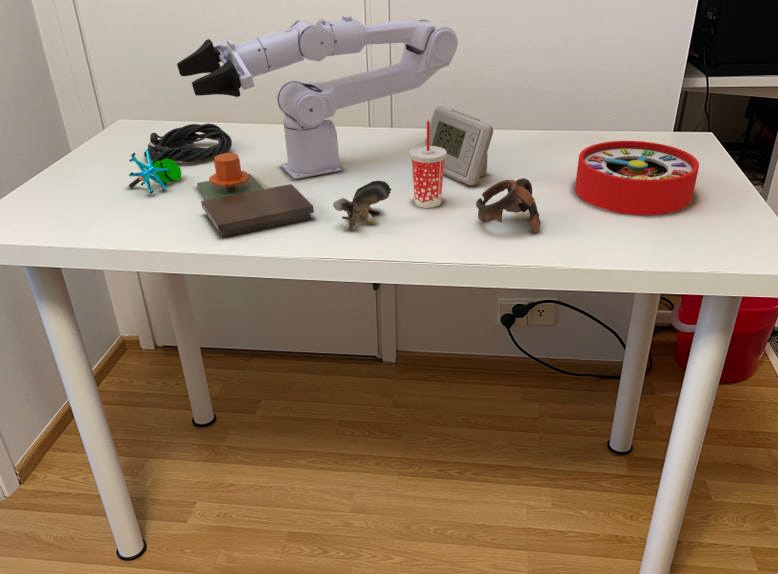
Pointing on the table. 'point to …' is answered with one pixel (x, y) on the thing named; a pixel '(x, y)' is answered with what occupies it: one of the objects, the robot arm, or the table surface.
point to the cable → (188, 136)
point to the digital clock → (461, 144)
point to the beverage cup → (428, 173)
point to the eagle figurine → (363, 202)
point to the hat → (228, 170)
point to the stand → (257, 210)
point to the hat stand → (227, 188)
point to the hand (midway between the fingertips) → (186, 79)
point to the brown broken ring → (509, 202)
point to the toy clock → (636, 177)
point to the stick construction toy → (155, 172)
